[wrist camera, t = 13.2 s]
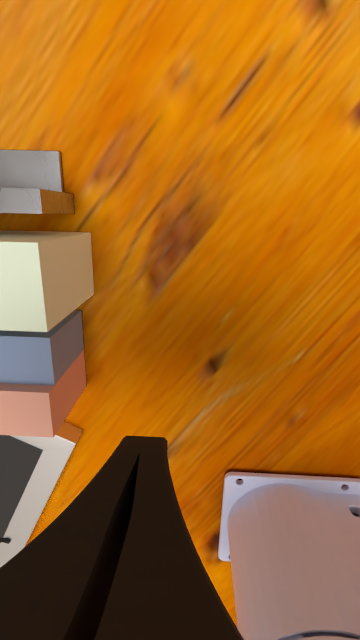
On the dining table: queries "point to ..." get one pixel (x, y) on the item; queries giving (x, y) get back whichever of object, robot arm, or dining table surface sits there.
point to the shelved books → (41, 377)
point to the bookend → (33, 183)
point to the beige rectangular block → (43, 277)
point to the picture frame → (29, 482)
